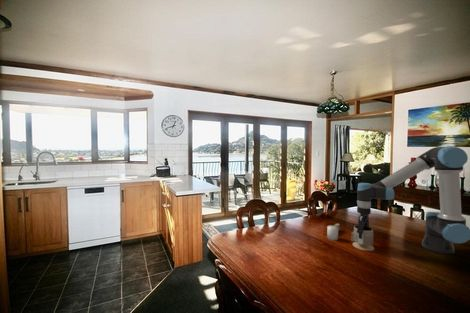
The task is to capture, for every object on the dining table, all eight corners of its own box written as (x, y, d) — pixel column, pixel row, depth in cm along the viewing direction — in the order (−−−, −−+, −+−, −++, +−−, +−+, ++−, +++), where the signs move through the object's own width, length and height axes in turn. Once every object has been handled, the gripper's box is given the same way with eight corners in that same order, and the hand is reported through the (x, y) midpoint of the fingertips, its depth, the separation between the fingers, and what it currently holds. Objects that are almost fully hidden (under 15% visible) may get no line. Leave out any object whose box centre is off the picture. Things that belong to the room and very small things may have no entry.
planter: (372, 247, 130) (372, 232, 129) (352, 242, 136) (352, 228, 136) (373, 241, 138) (374, 227, 138) (354, 237, 145) (355, 223, 145)
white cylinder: (339, 238, 150) (339, 227, 150) (335, 241, 145) (335, 229, 145) (329, 235, 155) (329, 224, 155) (325, 238, 150) (325, 227, 150)
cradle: (360, 235, 155) (360, 228, 155) (354, 241, 146) (354, 233, 145) (336, 229, 167) (336, 223, 167) (329, 234, 157) (329, 227, 157)
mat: (376, 246, 137) (376, 245, 137) (371, 252, 129) (371, 252, 129) (355, 241, 146) (355, 240, 146) (350, 246, 137) (350, 245, 137)
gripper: (362, 203, 147) (361, 234, 148) (351, 209, 131) (351, 244, 132) (375, 205, 142) (374, 237, 143) (365, 211, 126) (364, 248, 126)
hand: (363, 240), depth 137 cm, fingers closed on planter, 11 cm apart
